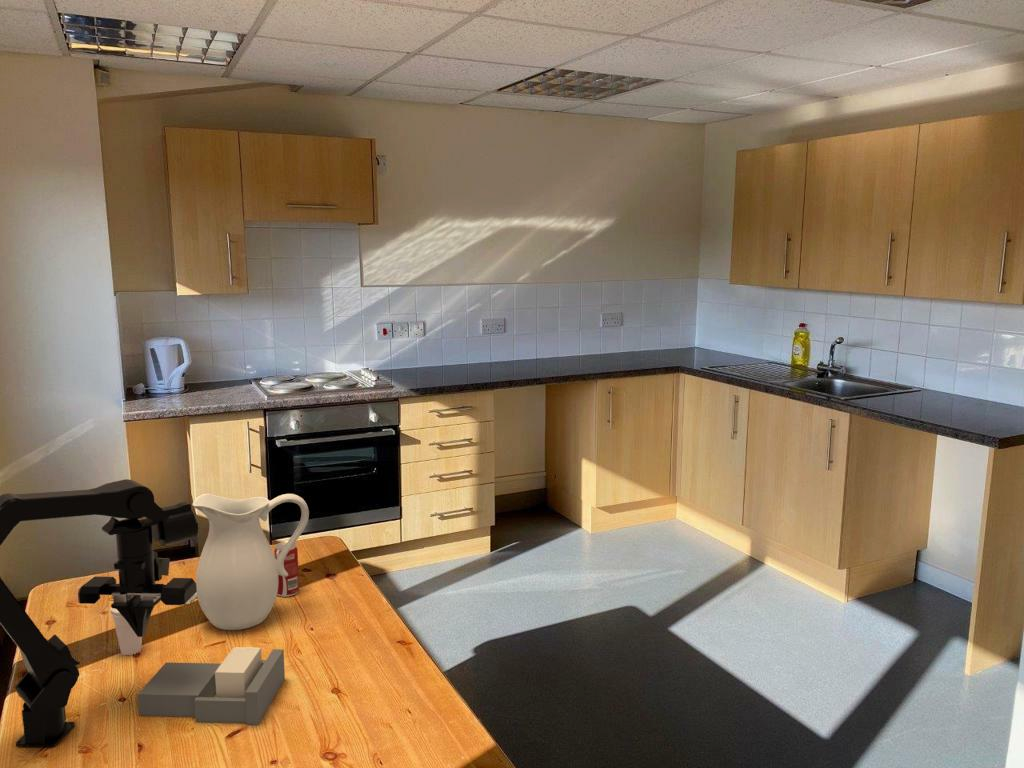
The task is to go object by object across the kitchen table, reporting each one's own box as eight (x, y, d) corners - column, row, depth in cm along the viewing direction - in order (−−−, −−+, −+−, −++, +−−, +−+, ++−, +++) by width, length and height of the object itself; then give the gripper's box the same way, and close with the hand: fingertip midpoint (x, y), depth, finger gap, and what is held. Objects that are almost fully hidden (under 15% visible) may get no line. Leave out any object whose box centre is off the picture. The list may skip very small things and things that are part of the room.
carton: (217, 714, 142) (245, 715, 142) (214, 672, 141) (243, 672, 141) (236, 687, 151) (262, 688, 151) (233, 647, 150) (260, 647, 149)
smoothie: (135, 660, 160) (130, 593, 158) (106, 657, 161) (101, 590, 159) (155, 645, 166) (150, 580, 164) (127, 642, 168) (122, 577, 165)
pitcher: (194, 641, 168) (186, 512, 163) (202, 607, 184) (195, 488, 179) (313, 628, 174) (309, 503, 170) (311, 596, 190) (307, 481, 186)
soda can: (274, 590, 193) (272, 542, 191) (296, 587, 195) (295, 539, 193) (278, 599, 188) (276, 549, 187) (300, 595, 191) (299, 546, 189)
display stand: (258, 724, 139) (256, 692, 138) (133, 722, 139) (131, 689, 138) (284, 679, 154) (283, 649, 153) (172, 676, 154) (170, 647, 153)
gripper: (206, 537, 150) (210, 616, 153) (106, 535, 151) (112, 614, 153) (180, 559, 139) (186, 645, 142) (72, 557, 140) (79, 643, 142)
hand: (141, 635), depth 145 cm, fingers closed
